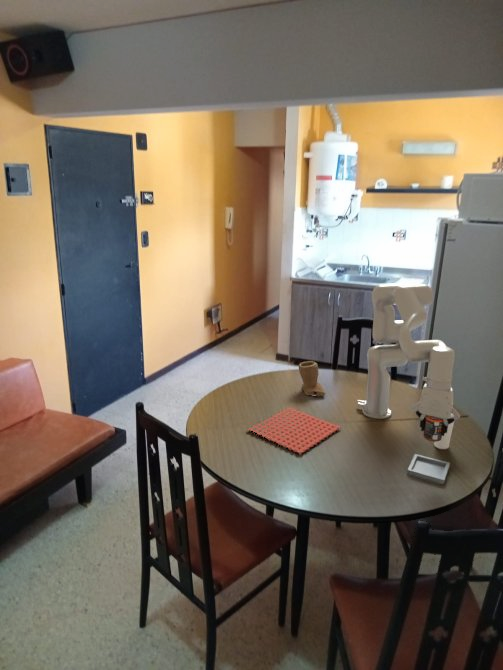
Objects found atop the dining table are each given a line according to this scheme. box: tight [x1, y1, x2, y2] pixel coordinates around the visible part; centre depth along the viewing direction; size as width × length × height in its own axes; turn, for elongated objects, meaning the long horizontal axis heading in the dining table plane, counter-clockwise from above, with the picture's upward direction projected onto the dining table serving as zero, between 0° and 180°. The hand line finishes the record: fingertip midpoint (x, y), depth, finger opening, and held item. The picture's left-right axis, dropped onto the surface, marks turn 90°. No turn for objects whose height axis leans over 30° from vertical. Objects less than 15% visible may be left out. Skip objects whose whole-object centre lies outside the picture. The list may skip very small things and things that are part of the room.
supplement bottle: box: [423, 415, 444, 443], centre depth 158 cm, size 6×6×11 cm
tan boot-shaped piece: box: [298, 360, 326, 397], centre depth 228 cm, size 15×12×15 cm
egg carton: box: [247, 407, 341, 456], centre depth 192 cm, size 28×28×2 cm
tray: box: [406, 453, 451, 486], centre depth 163 cm, size 12×12×2 cm
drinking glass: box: [433, 413, 455, 450], centre depth 177 cm, size 7×7×15 cm
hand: (433, 431), depth 159 cm, fingers closed on supplement bottle, 6 cm apart
